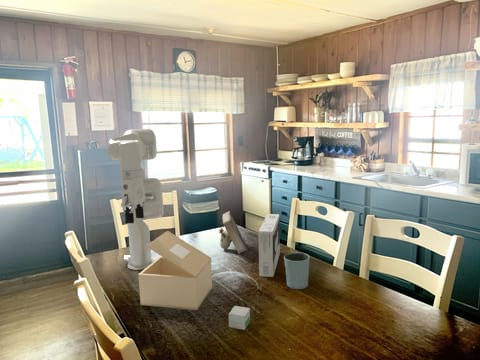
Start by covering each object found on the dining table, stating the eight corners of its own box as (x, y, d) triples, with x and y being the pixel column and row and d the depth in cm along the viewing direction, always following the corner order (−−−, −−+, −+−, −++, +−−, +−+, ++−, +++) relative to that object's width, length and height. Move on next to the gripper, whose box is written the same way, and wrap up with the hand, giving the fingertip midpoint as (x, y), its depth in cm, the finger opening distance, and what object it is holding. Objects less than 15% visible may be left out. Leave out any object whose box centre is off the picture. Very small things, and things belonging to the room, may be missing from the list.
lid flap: (145, 246, 131) (146, 244, 131) (167, 231, 149) (167, 230, 148) (195, 277, 129) (196, 276, 129) (211, 259, 146) (211, 257, 146)
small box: (244, 330, 117) (244, 316, 117) (228, 327, 119) (227, 313, 119) (250, 321, 123) (250, 307, 122) (234, 318, 125) (234, 305, 124)
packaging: (273, 277, 157) (272, 231, 154) (259, 276, 158) (258, 231, 155) (280, 252, 186) (279, 214, 183) (268, 251, 188) (267, 213, 185)
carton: (140, 305, 136) (138, 274, 134) (161, 284, 153) (160, 256, 151) (197, 310, 131) (195, 278, 129) (212, 288, 148) (211, 259, 146)
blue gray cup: (314, 283, 149) (314, 255, 147) (300, 292, 142) (300, 263, 140) (293, 277, 156) (293, 250, 154) (279, 285, 149) (278, 257, 147)
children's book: (225, 250, 203) (208, 219, 200) (245, 240, 203) (229, 209, 200) (227, 263, 183) (209, 228, 180) (249, 251, 184) (231, 217, 180)
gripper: (128, 178, 129) (132, 227, 132) (151, 171, 146) (154, 215, 149) (109, 177, 131) (113, 226, 134) (134, 171, 148) (137, 214, 150)
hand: (135, 220), depth 141 cm, fingers open, 6 cm apart
